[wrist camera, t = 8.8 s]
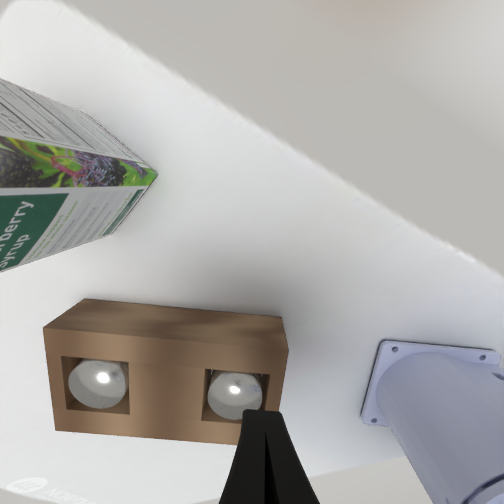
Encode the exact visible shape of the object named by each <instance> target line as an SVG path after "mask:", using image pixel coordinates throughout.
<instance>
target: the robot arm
mask: <svg viewBox="0 0 504 504" xmlns="http://www.w3.org/2000/svg"><path fill="white" fill-rule="evenodd" d="M393 347H395V348H394V349H392V348H393ZM500 360H501V355H500V354H499V353H497V352H496V351H493V350H482V349H471V348H461V347H450V346H439V345H429V344H418V343H407V342H397V341H384V342H382V343H381V345H380V348H379V352H378V355H377V359H376V363H375V366H374V370H373V374H372V377H371V381H370V385H369V388H368V392H367V396H366V399H365V403H364V406H363V410H362V414H361V419H362V421H363V423H364V424H369V425H381V426H390V428H391V430H392V431H393V433H394V435H395V437H396V438H397V440H398V442H399V444H400V446H401V447H402V449H403V451H404V453H405V454H406V456H407V458H408V460H409V462H410V463H411V465H412V467H413V469H414V470H415V472H416V474H417V476H418V477H419V479H420V481H421V483H422V485H423V486H424V488H425V490H426V491H427V493H428V495H429V497H430V499H431V500H432V502H433V504H504V370H503V369H502V368H501V367H499V366H498V364H499V362H500ZM219 504H320V503H319V501H318V499H317V497H316V495H315V493H314V491H313V489H312V487H311V484H310V482H309V480H308V478H307V476H306V474H305V471H304V469H303V467H302V465H301V463H300V460H299V458H298V456H297V453H296V451H295V448H294V446H293V444H292V441H291V439H290V436H289V433H288V431H287V428H286V425H285V422H284V419H283V416H282V414H281V413H280V412H278V411H265V410H253V409H246V410H244V411H243V415H242V424H241V432H240V437H239V441H238V445H237V449H236V452H235V456H234V459H233V463H232V466H231V469H230V473H229V476H228V479H227V482H226V484H225V487H224V490H223V493H222V496H221V498H220V501H219Z"/></svg>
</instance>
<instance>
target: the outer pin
mask: <svg viewBox="0 0 504 504" xmlns="http://www.w3.org/2000/svg"><path fill="white" fill-rule="evenodd" d="M68 384H69V388H70V391H71V393H72V394H73V396H74V397H75V398H76V399H77V400H78V401H80V402H81V403H83V404H84V405H87V406H89V407H92V408H99V409H103V408H109V407H112V406H114V405H116V404H117V403H119V402H120V400H121V399H122V398H123V396H124V394H125V393H126V391H127V389H128V388H129V362H124V361H113V360H101V359H90V358H84V359H83V360H82V361H81V362H80V363H79V364H78V365H77V366H76V368H75V369H74V370H73V371H72V372H71V374H70V376H69V380H68Z"/></svg>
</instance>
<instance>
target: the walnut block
mask: <svg viewBox="0 0 504 504" xmlns="http://www.w3.org/2000/svg"><path fill="white" fill-rule="evenodd" d="M43 335H44V343H45V351H46V359H47V367H48V375H49V383H50V391H51V399H52V407H53V415H54V423H55V431H67V432H79V433H92V434H104V435H117V436H129V437H141V438H154V439H166V440H179V441H191V442H203V443H216V444H228V445H238V441H239V437H240V432H241V424H242V419H240V420H231V419H226V418H223V417H221V416H219V415H218V414H216V413H215V412H214V411H213V410H212V409H211V407H210V405H209V403H208V391H209V386H210V381H211V369H214V370H225V371H236V372H248V373H259V374H262V377H261V382H262V403H261V406H260V407H259V409H258V410H265V411H278V412H279V406H280V400H281V394H282V388H283V382H284V376H285V370H286V364H287V358H288V352H289V349H288V344H287V340H286V335H285V331H284V326H283V322H282V317H273V316H262V315H252V314H241V313H231V312H220V311H210V310H199V309H189V308H178V307H168V306H157V305H147V304H136V303H126V302H115V301H105V300H94V299H83V300H82V301H80V302H79V303H77V304H76V305H75V306H73V307H72V308H70V309H69V310H67V311H66V312H65V313H63V314H62V315H60V316H59V317H57V318H56V319H54V320H53V321H52V322H50V323H49V324H47V325H46V326H44V327H43ZM84 358H90V359H101V360H113V361H124V362H129V388H128V389H127V391H126V393H125V394H124V396H123V398H122V399H121V400H120V402H119V403H117V404H116V405H114V406H112V407H109V408H103V409H99V408H92V407H89V406H87V405H84V404H83V403H81V402H80V401H78V400H77V399H76V398H75V397H74V396H73V394H72V393H71V391H70V388H69V384H68V380H69V376H70V374H71V372H72V371H73V370H74V369H75V368H76V366H77V365H78V364H79V363H80V362H81V361H82V360H83V359H84Z"/></svg>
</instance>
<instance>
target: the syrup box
mask: <svg viewBox="0 0 504 504" xmlns="http://www.w3.org/2000/svg"><path fill="white" fill-rule="evenodd" d="M156 176H157V173H156V172H154V171H153V170H152V169H151V168H150V167H149V166H147V165H146V164H145V163H144V162H143V161H141V160H140V159H139V158H138V157H137V156H135V155H134V154H133V153H132V152H130V151H129V150H128V149H127V148H126V147H124V146H123V145H122V144H121V143H120V142H118V141H117V140H116V139H115V138H114V137H113V136H111V135H110V134H109V133H108V132H107V131H106V130H104V129H103V128H102V127H101V126H100V125H98V124H97V123H96V122H95V121H94V120H93V119H91V118H90V117H89V116H88V115H86V114H85V113H83V112H80V111H78V110H76V109H73V108H71V107H68V106H66V105H63V104H61V103H59V102H56V101H54V100H51V99H49V98H47V97H44V96H42V95H39V94H37V93H35V92H32V91H30V90H27V89H25V88H23V87H20V86H18V85H15V84H13V83H11V82H8V81H6V80H3V79H1V78H0V273H1V272H4V271H7V270H10V269H12V268H15V267H18V266H21V265H24V264H27V263H30V262H33V261H36V260H39V259H42V258H45V257H48V256H51V255H54V254H56V253H59V252H62V251H65V250H68V249H71V248H73V247H76V246H79V245H82V244H85V243H88V242H91V241H93V240H97V239H99V238H102V237H105V236H108V235H110V234H112V233H113V232H114V230H115V229H116V228H117V227H118V225H119V224H120V223H121V222H122V220H123V219H124V218H125V217H126V216H127V215H128V213H129V212H130V211H131V209H132V208H133V207H134V205H135V204H136V203H137V202H138V200H139V199H140V198H141V196H142V195H143V193H144V192H145V191H146V190H147V188H148V187H149V186H150V184H151V183H152V181H153V180H154V179H155V178H156Z"/></svg>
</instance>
